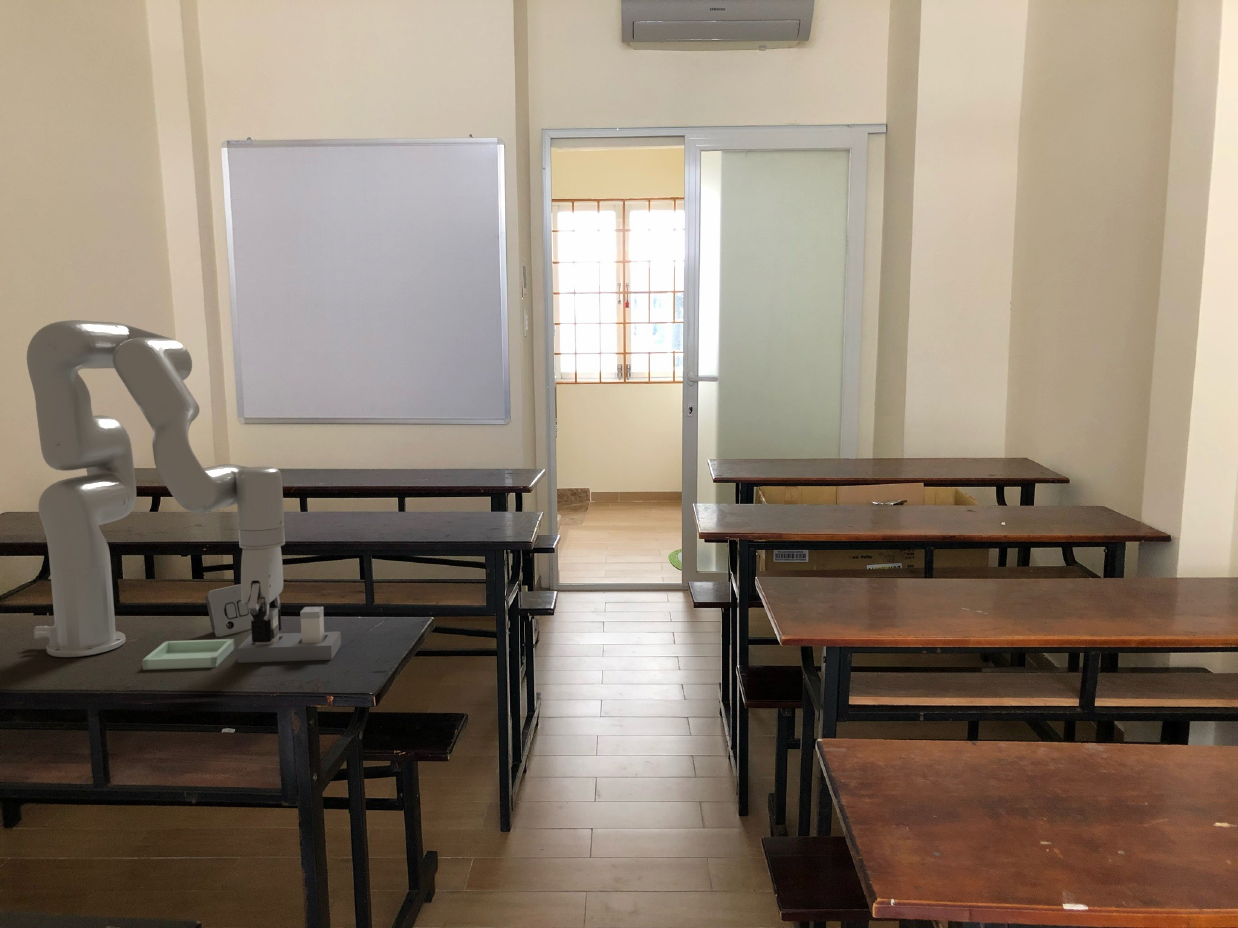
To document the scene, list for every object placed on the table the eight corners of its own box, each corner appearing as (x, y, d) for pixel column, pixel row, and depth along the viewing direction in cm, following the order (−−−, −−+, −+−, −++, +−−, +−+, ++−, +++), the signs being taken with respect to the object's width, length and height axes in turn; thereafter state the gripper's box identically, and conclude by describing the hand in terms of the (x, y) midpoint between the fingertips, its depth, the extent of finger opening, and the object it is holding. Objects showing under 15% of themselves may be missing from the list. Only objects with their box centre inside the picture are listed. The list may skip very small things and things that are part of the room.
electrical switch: (218, 640, 170) (213, 591, 169) (205, 637, 173) (200, 589, 173) (264, 628, 177) (259, 582, 177) (250, 625, 180) (246, 580, 180)
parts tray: (143, 672, 153) (142, 659, 152) (166, 652, 162) (165, 641, 162) (216, 669, 154) (215, 657, 154) (234, 650, 164) (234, 638, 163)
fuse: (302, 655, 159) (300, 612, 158) (306, 649, 163) (304, 606, 162) (321, 655, 160) (319, 611, 159) (325, 649, 163) (323, 606, 162)
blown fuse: (255, 657, 159) (253, 613, 158) (261, 651, 162) (258, 608, 161) (274, 656, 159) (272, 613, 158) (279, 650, 162) (277, 607, 161)
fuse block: (237, 665, 156) (237, 648, 156) (251, 649, 164) (250, 634, 164) (331, 661, 158) (331, 645, 157) (341, 647, 166) (340, 631, 165)
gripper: (254, 528, 166) (259, 622, 168) (223, 547, 149) (229, 652, 151) (296, 527, 167) (300, 621, 169) (270, 546, 150) (275, 651, 152)
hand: (267, 635), depth 160 cm, fingers open, 5 cm apart
